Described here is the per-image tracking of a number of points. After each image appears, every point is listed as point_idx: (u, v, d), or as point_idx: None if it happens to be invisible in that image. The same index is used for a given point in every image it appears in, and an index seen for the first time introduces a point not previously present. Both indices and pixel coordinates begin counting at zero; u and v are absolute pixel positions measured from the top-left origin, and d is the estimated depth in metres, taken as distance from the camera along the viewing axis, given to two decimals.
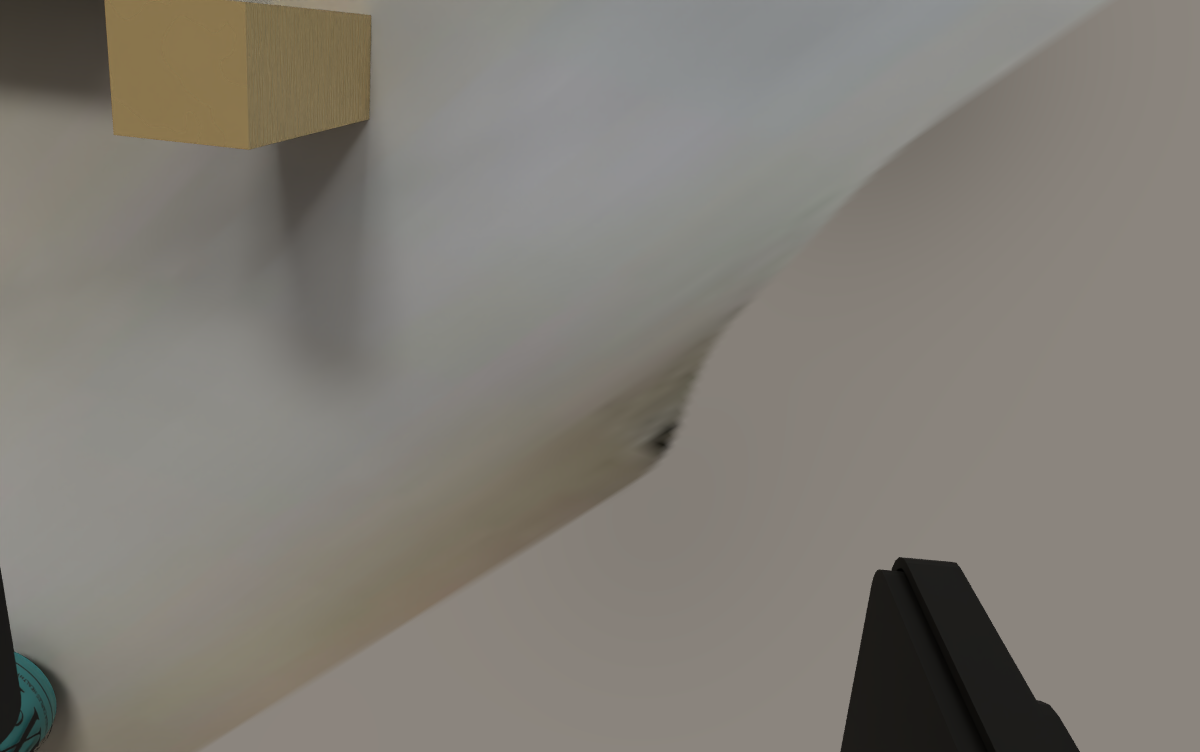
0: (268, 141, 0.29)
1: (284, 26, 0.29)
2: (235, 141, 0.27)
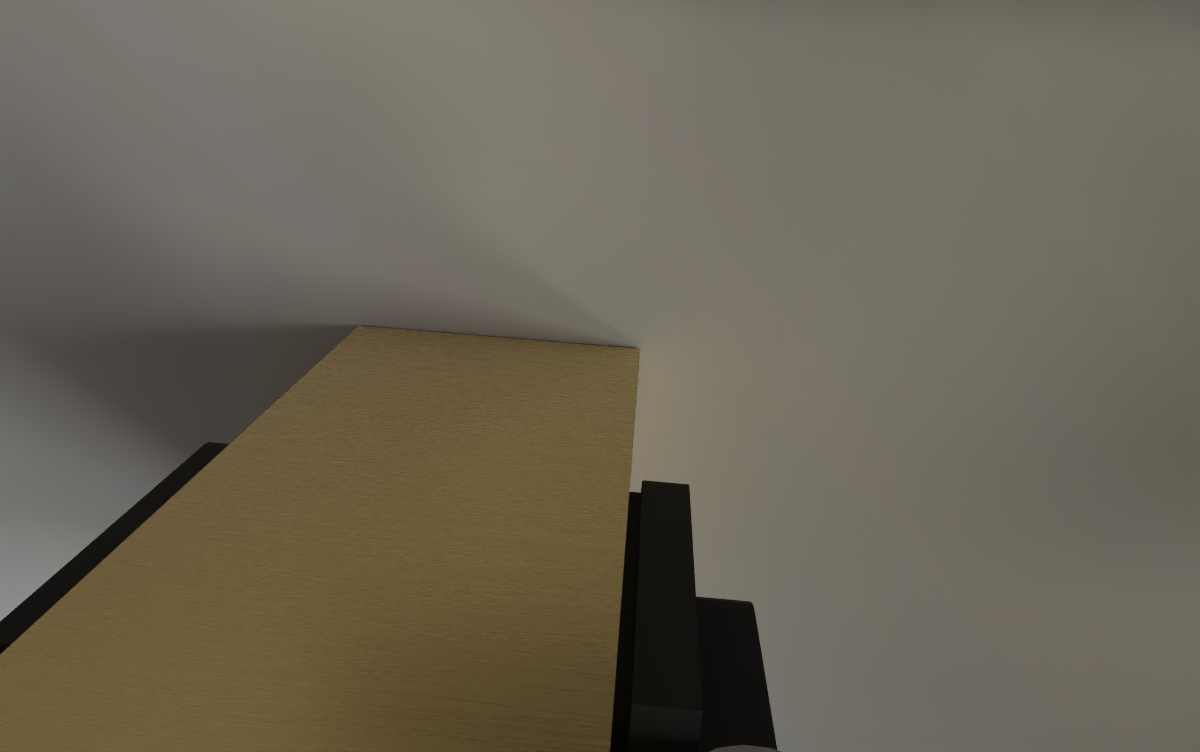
0: None
1: None
2: None
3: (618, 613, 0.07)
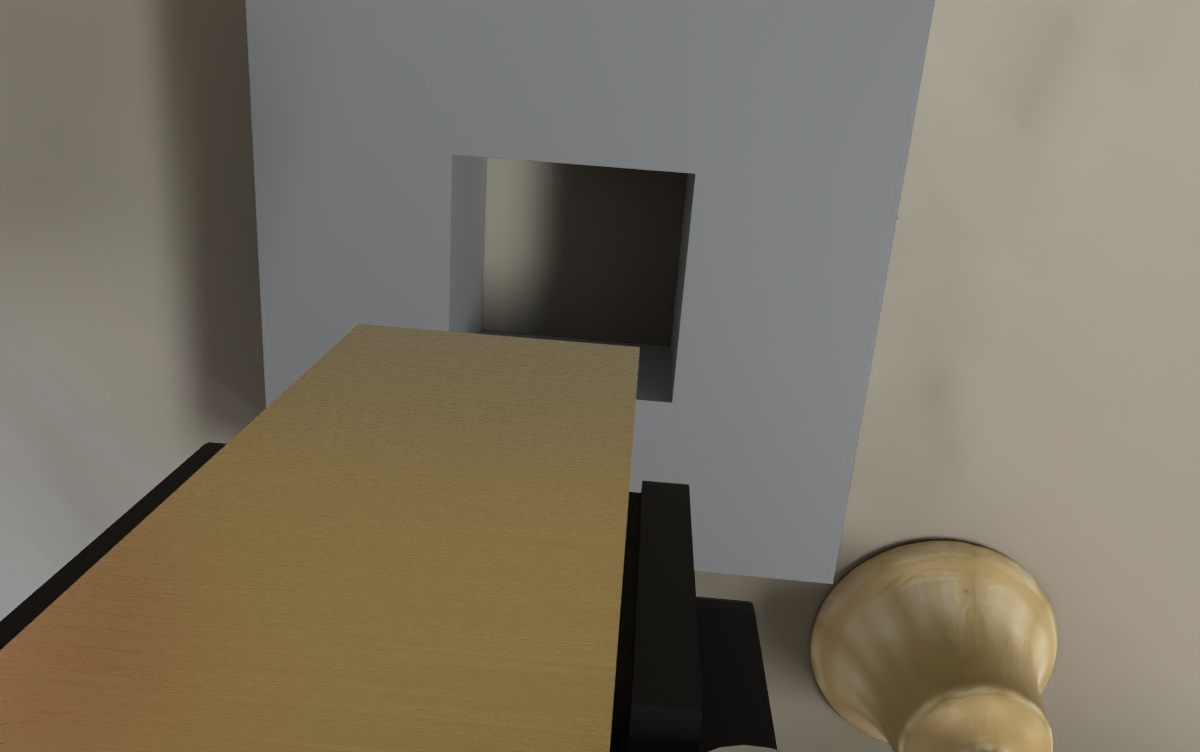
0: None
1: None
2: None
3: (618, 610, 0.07)
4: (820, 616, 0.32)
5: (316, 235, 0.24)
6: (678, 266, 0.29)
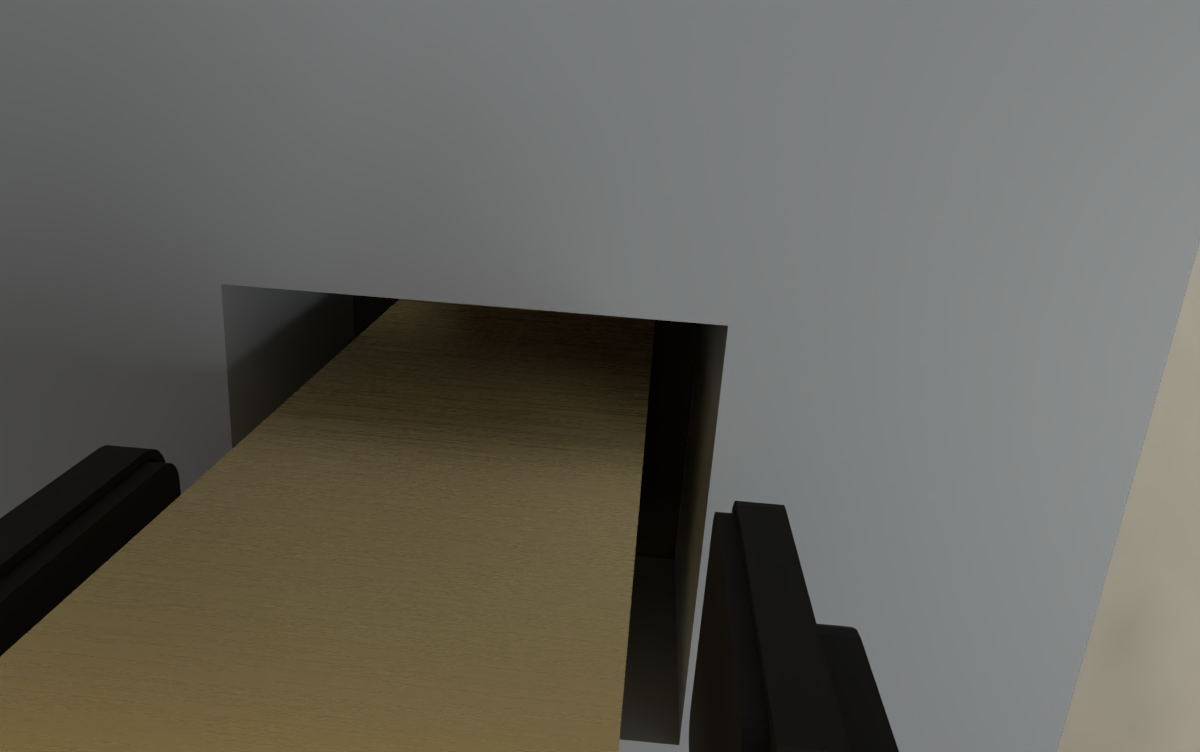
0: None
1: None
2: None
3: (642, 451, 0.10)
4: None
5: None
6: (688, 433, 0.17)
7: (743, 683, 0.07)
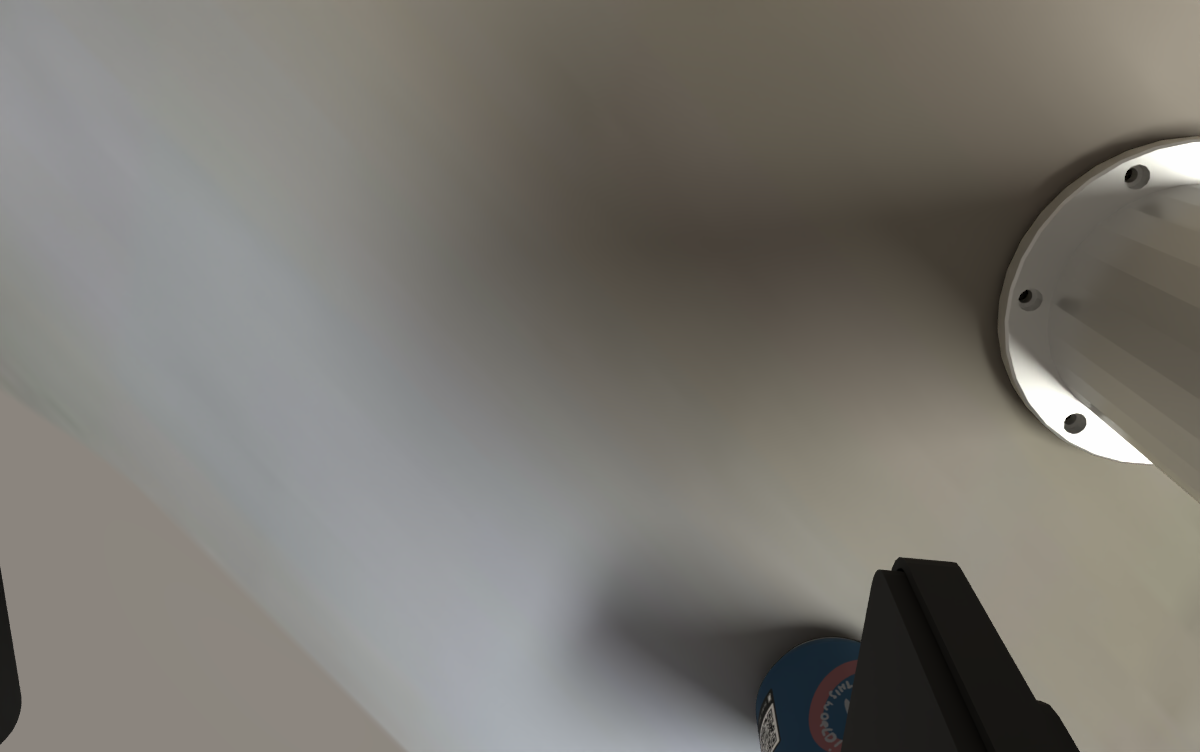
0: None
1: None
2: None
3: None
4: None
5: None
6: None
7: None
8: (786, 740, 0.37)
